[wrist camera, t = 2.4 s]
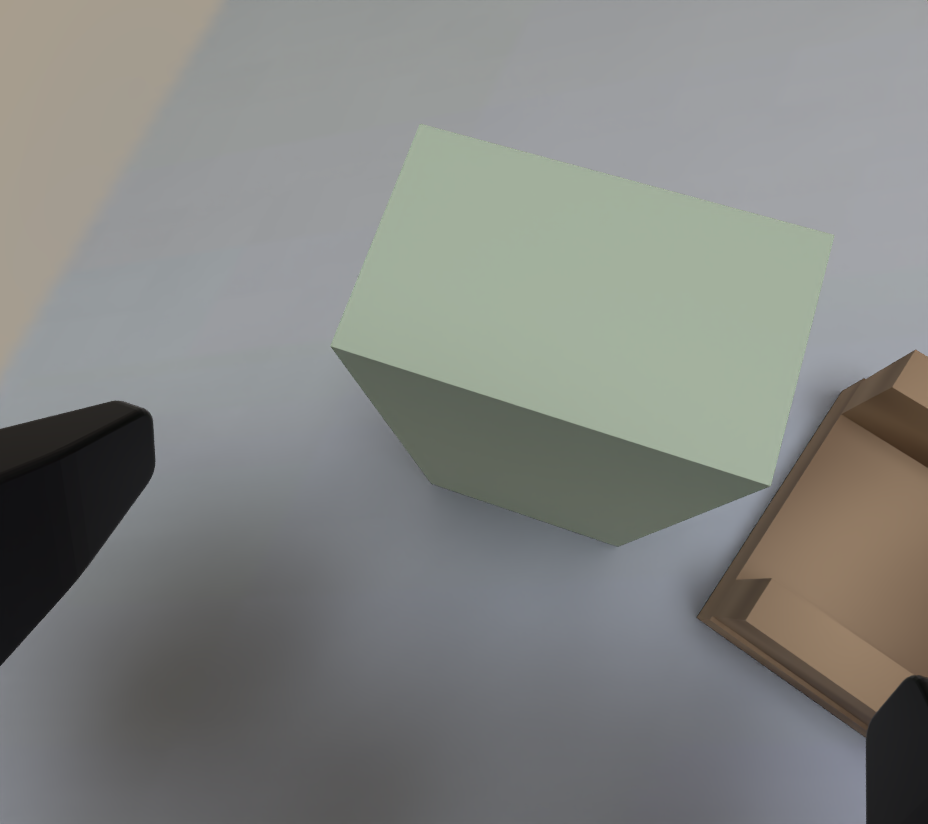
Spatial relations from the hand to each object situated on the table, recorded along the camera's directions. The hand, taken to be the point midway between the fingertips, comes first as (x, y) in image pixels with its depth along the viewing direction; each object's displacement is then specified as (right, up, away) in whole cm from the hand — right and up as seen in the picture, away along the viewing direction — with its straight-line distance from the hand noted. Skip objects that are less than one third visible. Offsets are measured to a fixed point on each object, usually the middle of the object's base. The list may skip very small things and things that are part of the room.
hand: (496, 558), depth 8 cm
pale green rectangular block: (+2, 0, +11) cm, 11 cm away
